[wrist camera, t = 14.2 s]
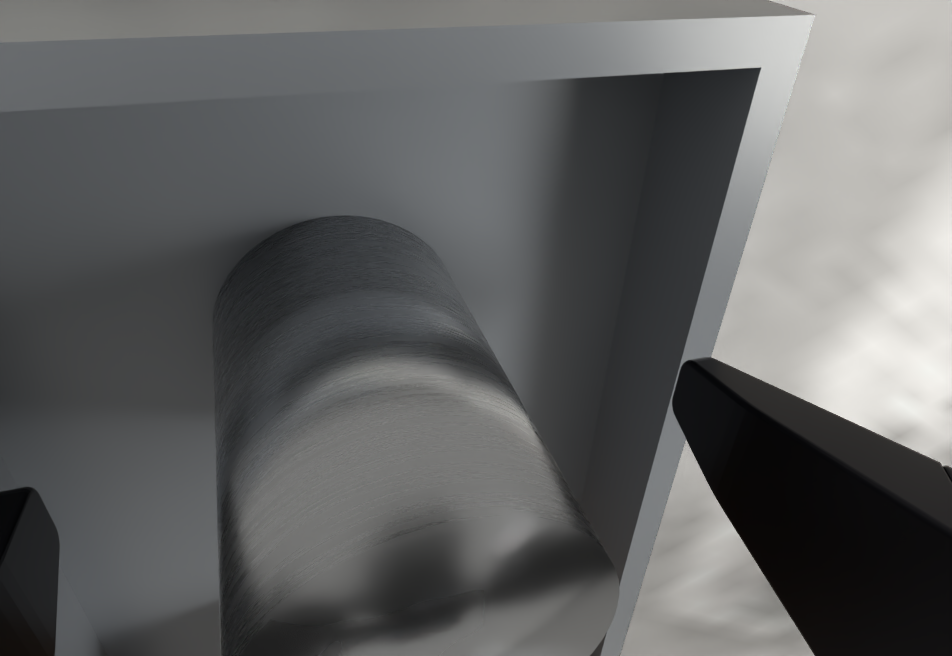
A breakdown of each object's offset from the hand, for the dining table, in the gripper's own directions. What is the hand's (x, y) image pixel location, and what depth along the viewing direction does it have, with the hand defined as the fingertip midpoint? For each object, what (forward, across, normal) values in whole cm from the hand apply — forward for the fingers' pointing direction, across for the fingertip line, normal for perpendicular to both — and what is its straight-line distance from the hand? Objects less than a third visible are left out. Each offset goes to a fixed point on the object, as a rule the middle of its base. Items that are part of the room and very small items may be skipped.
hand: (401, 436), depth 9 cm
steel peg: (+3, 0, 0) cm, 3 cm away
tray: (+3, 0, +5) cm, 6 cm away
